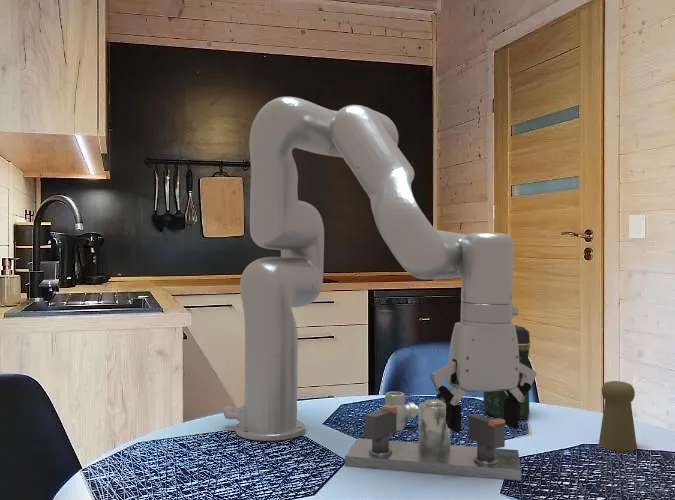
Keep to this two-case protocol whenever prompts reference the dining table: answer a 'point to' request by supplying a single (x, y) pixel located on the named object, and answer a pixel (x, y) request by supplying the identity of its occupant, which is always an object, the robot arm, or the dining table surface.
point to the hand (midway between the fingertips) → (482, 428)
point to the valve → (403, 407)
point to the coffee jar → (495, 399)
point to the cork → (618, 417)
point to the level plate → (435, 460)
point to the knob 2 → (486, 435)
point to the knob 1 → (380, 427)
